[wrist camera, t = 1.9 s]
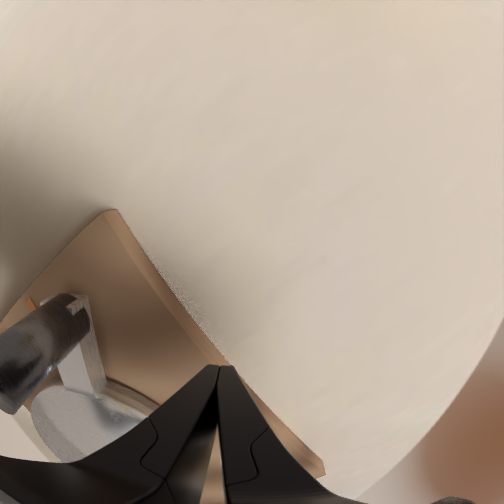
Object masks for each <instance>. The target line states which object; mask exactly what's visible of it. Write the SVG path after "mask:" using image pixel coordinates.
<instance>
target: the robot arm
mask: <svg viewBox="0 0 504 504" xmlns="http://www.w3.org/2000/svg"><path fill="white" fill-rule="evenodd" d="M217 426H218V437H219V449H220V461H221V472H222V482H223V492H224V501H225V504H366V503H362V502H358V501H355V500H351V499H347V498H344V497H340V496H338V495H336V494H334V493H332V492H330V491H329V490H327V489H326V488H325V487H323V486H322V485H321V484H320V483H319V482H318V481H317V480H316V479H315V478H314V477H313V476H312V475H311V474H310V473H309V472H308V471H307V470H306V469H305V468H304V467H303V466H302V465H301V464H300V463H299V462H298V461H297V460H296V459H295V458H294V457H293V456H292V455H291V454H290V452H289V451H288V450H287V449H286V448H285V447H284V445H283V444H282V443H281V441H280V440H279V439H278V437H277V436H276V434H275V433H274V431H273V430H272V428H270V425H269V424H268V422H267V420H266V419H265V417H264V416H263V414H262V413H261V411H260V409H259V408H258V406H257V405H256V403H255V401H254V400H253V398H252V396H251V395H250V393H249V391H248V390H247V388H246V386H245V385H244V383H243V381H242V380H241V378H240V376H239V375H238V373H237V371H236V369H235V368H234V366H232V365H221V366H220V365H214V364H207V365H206V366H205V367H204V368H203V369H202V370H200V371H199V372H198V373H197V374H196V375H195V376H194V377H193V378H192V379H190V380H189V381H188V382H187V383H186V384H185V385H184V386H182V387H181V388H180V389H179V390H178V391H177V392H176V393H174V394H173V395H172V396H171V397H170V398H169V399H168V400H166V401H165V402H164V403H163V404H162V405H161V406H159V407H158V408H157V409H156V410H155V411H153V412H152V413H151V414H150V415H149V416H148V417H146V418H145V419H144V420H142V421H141V422H140V423H139V424H137V425H136V426H135V427H134V428H132V429H131V430H130V431H128V432H127V433H125V434H124V435H122V436H121V437H119V438H117V439H116V440H114V441H113V442H111V443H109V444H108V445H106V446H104V447H102V448H101V449H99V450H97V451H95V452H94V453H92V454H90V455H88V456H86V457H84V458H82V459H80V460H77V461H74V462H70V463H52V462H39V461H30V460H22V459H16V458H9V457H4V456H0V504H200V499H201V495H202V491H203V487H204V483H205V479H206V474H207V470H208V466H209V462H210V457H211V453H212V449H213V445H214V441H215V436H216V432H217ZM431 504H476V503H475V502H473V501H471V500H468V499H463V498H459V497H453V496H451V497H446V498H443V499H440V500H438V501H436V502H434V503H431Z"/></svg>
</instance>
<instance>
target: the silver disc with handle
mask: <svg viewBox="0 0 504 504" xmlns="http://www.w3.org/2000/svg"><path fill="white" fill-rule="evenodd" d="M56 367H58V370H59V373H60V375H58V376H56V377H54V378H52V379H51V380H50V381H49V382H48V384H47V385H46V386H45V387H44V388H43V389H42V390H41V391H40V393H39V394H38V395H37V396H36V397H35V398H34V400H33V402H32V404H31V416H32V420H33V423H34V425H35V427H36V429H37V431H38V433H39V435H40V436H41V438H42V439H43V441H44V442H45V443H46V445H47V446H48V447H49V448H50V449H51V451H52V452H53V453H54V454H55V455H56V456H57V457H58V458H59V459H60V460H61V461H62V462H63V463H70V462H74V461H77V460H80V459H82V458H84V457H86V456H88V455H90V454H92V453H94V452H95V451H97V450H99V449H101V448H102V447H104V446H106V445H108V444H109V443H111V442H113V441H114V440H116V439H117V438H119V437H121V436H122V435H124V434H125V433H127V432H128V431H130V430H131V429H132V428H134V427H135V426H136V425H137V424H139V423H140V422H141V421H142V420H144V419H145V418H146V417H148V416H149V415H150V414H151V413H152V412H153V411H155V410H156V409H157V408H158V407H159V406H158V405H157V404H155V403H154V402H152V401H150V400H149V399H147V398H145V397H144V396H142V395H140V394H138V393H136V392H134V391H132V390H130V389H128V388H125V387H123V386H121V385H119V384H116V383H114V382H111V381H108V380H106V376H105V373H104V369H103V365H102V362H101V358H100V354H99V350H98V345H97V341H96V336H95V332H94V327H93V322H92V316H91V311H90V305H89V299H88V296H87V295H79V294H72V293H65V292H58V291H57V292H55V293H54V294H52V295H51V296H49V297H47V298H46V299H44V300H43V301H41V302H40V307H38V308H37V309H35V310H34V311H32V312H31V313H29V314H28V315H26V316H25V317H23V318H22V319H20V320H19V321H17V322H16V323H15V324H13V325H12V326H10V327H9V328H7V329H6V330H5V331H3V332H2V333H0V409H1V410H3V411H4V412H6V413H8V414H11V415H13V414H15V413H16V412H17V410H18V409H19V408H20V407H21V406H22V405H23V403H24V402H25V401H26V400H27V399H28V398H29V397H30V395H31V394H32V393H33V392H34V391H35V390H36V389H37V388H38V387H39V385H40V384H41V383H42V382H43V381H44V380H45V379H46V378H47V377H48V376H49V375H50V373H51V372H52V371H53V370H54V369H55V368H56Z"/></svg>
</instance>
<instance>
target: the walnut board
mask: <svg viewBox="0 0 504 504" xmlns="http://www.w3.org/2000/svg"><path fill="white" fill-rule="evenodd" d="M57 291H58V292H65V293H72V294H79V295H87V296H88V299H89V305H90V311H91V316H92V322H93V327H94V332H95V336H96V341H97V345H98V350H99V354H100V358H101V362H102V365H103V369H104V373H105V376H106V380H108V381H111V382H114V383H116V384H119V385H121V386H123V387H125V388H128V389H130V390H132V391H134V392H136V393H138V394H140V395H142V396H144V397H145V398H147V399H149V400H150V401H152V402H154V403H155V404H157V405H158V406H161V405H162V404H163V403H164V402H165V401H166V400H168V399H169V398H170V397H171V396H172V395H173V394H174V393H176V392H177V391H178V390H179V389H180V388H181V387H182V386H184V385H185V384H186V383H187V382H188V381H189V380H190V379H192V378H193V377H194V376H195V375H196V374H197V373H198V372H199V371H200V370H202V369H203V368H204V367H205V366H206V365H207V364H214V365H220V366H221V365H230V364H229V363H228V362H227V361H226V359H225V358H224V357H223V356H222V355H221V353H220V352H219V351H218V350H217V349H216V347H215V346H214V345H213V344H212V343H211V341H210V340H209V339H208V338H207V336H206V335H205V334H204V333H203V331H202V330H201V329H200V328H199V326H198V325H197V324H196V322H195V321H194V320H193V319H192V317H191V316H190V315H189V313H188V312H187V311H186V309H185V308H184V307H183V305H182V304H181V303H180V301H179V300H178V299H177V297H176V296H175V295H174V293H173V292H172V291H171V289H170V288H169V286H168V285H167V284H166V282H165V281H164V279H163V278H162V277H161V275H160V274H159V272H158V271H157V270H156V268H155V267H154V265H153V264H152V262H151V261H150V259H149V258H148V256H147V255H146V253H145V252H144V251H143V249H142V248H141V246H140V245H139V243H138V241H137V240H136V238H135V237H134V235H133V234H132V232H131V231H130V229H129V228H128V226H127V224H126V223H125V221H124V220H123V218H122V216H121V215H120V213H119V212H118V210H117V209H115V210H110V211H105V212H102V213H101V214H99V215H98V216H97V217H96V218H95V219H94V220H93V221H92V222H91V223H90V224H89V225H87V226H86V227H85V228H84V229H83V230H82V231H81V232H80V233H79V234H78V235H77V236H76V237H75V238H74V239H73V240H72V241H71V242H70V243H69V244H68V245H67V246H66V247H65V248H64V249H63V250H62V251H61V252H60V253H59V254H58V255H57V256H56V257H55V258H54V259H53V260H52V261H51V263H50V264H49V265H48V266H47V267H46V268H45V269H44V270H43V271H42V272H41V273H40V275H39V276H38V277H37V278H36V279H35V280H34V281H33V283H32V284H31V285H30V286H29V287H28V288H27V290H26V291H25V292H24V293H23V294H22V296H21V297H20V298H19V299H18V301H17V302H16V303H15V304H14V306H13V307H12V308H11V309H10V311H9V312H8V313H7V315H6V316H5V317H4V319H3V320H2V321H1V323H0V333H2V332H3V331H5V330H6V329H7V328H9V327H10V326H12V325H13V324H15V323H16V322H17V321H19V320H20V319H22V318H23V317H25V316H26V315H28V314H29V313H31V312H32V311H34V310H35V309H37V308H38V307H40V302H41V301H43V300H44V299H46V298H47V297H49V296H51V295H52V294H54V293H55V292H57ZM58 375H60V373H59V370H58V367H56V368H55V369H54V370H53V371H52V372H51V373H50V375H49V376H48V377H47V378H46V379H45V380H44V381H43V382H42V383H41V384H40V385H39V387H38V388H37V389H36V390H35V391H34V392H33V393H32V394H31V395H30V397H29V398H28V399H27V400H26V401H25V402H24V403H23V405H24V406H25V407H26V408H27V409H28V411H29V412H30V413H31V404H32V402H33V400H34V398H35V397H36V396H37V395H38V394H39V393H40V391H41V390H42V389H43V388H44V387H45V386H46V385H47V384H48V382H49V381H50V380H51V379H52V378H54V377H56V376H58ZM240 378H241V377H240ZM241 380H242V381H243V383H244V385H245V386H246V388H247V390H248V391H249V393H250V395H251V396H252V398H253V400H254V401H255V403H256V405H257V406H258V408H259V409H260V411H261V413H262V414H263V416H264V417H265V419H266V420H267V422H268V424H269V425H270V428H272V430H273V431H274V433H275V434H276V436H277V437H278V439H279V440H280V441H281V443H282V444H283V445H284V447H285V448H286V449H287V450H288V451H289V452H290V454H291V455H292V456H293V457H294V458H295V459H296V460H297V461H298V462H299V463H300V464H301V465H302V466H303V467H304V468H305V469H306V470H307V471H308V472H309V473H310V474H311V475H312V476H313V477H314V478H315V479H316V478H319V477H321V476H324V475H326V473H325V469H324V465H323V461H322V460H321V459H320V458H319V457H318V456H317V455H316V454H315V453H314V452H313V451H311V450H310V449H309V448H308V447H307V446H306V445H305V444H304V443H303V442H302V441H301V440H300V439H299V438H298V437H297V436H296V435H295V434H294V433H293V432H292V431H291V430H290V429H289V428H288V427H287V426H286V425H285V424H284V423H283V422H282V421H281V420H280V419H279V418H278V417H277V416H276V415H275V414H274V413H273V412H272V411H271V410H270V409H269V408H268V407H267V405H266V404H265V403H264V402H263V401H262V400H261V399H260V398H259V397H258V396H257V395H256V394H255V393H254V391H253V390H252V389H251V388H250V387H249V386H248V385H247V384H246V383H245V381H244V380H243V379H242V378H241ZM224 503H225V501H224V492H223V482H222V472H221V461H220V449H219V437H218V426H217V432H216V436H215V441H214V445H213V449H212V453H211V457H210V462H209V466H208V470H207V474H206V479H205V483H204V487H203V491H202V495H201V499H200V504H224Z"/></svg>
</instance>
